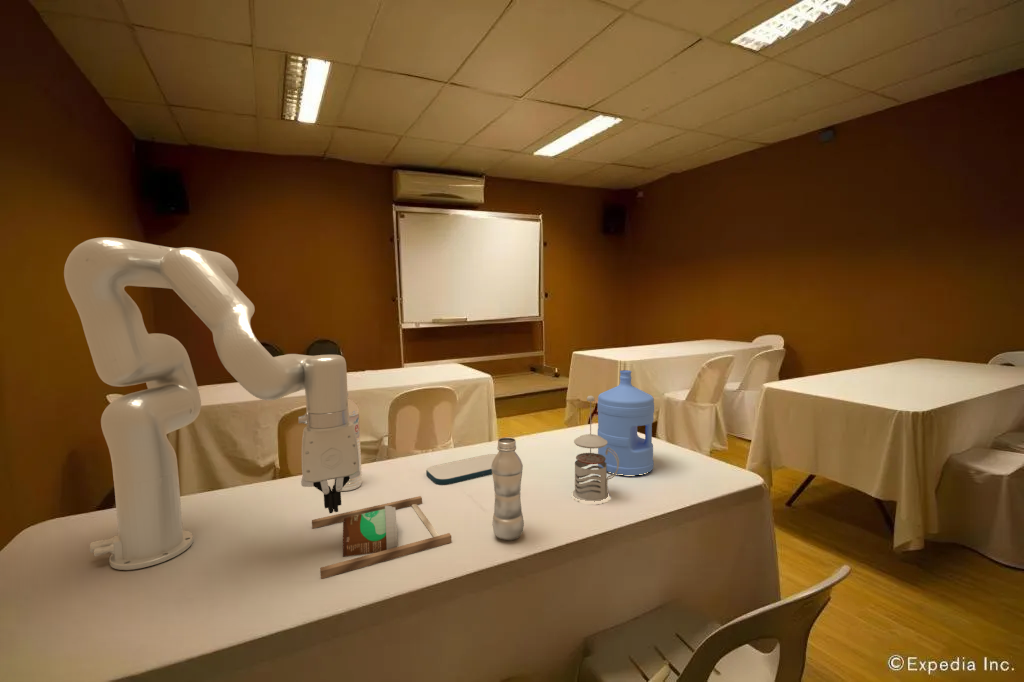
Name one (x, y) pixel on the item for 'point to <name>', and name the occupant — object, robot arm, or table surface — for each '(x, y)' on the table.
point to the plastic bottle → (507, 491)
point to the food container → (370, 532)
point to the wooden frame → (385, 554)
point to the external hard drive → (461, 470)
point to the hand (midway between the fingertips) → (333, 509)
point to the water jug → (626, 427)
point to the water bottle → (354, 419)
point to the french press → (593, 488)
